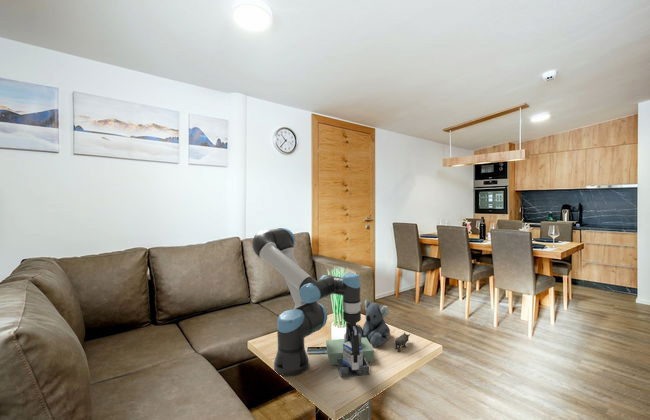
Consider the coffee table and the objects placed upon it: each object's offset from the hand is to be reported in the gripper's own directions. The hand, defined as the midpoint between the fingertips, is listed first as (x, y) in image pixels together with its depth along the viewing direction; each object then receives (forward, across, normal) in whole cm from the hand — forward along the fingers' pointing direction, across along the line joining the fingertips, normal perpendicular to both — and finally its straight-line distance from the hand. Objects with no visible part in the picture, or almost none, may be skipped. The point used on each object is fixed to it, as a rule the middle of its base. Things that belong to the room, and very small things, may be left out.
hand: (352, 363), depth 126 cm
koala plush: (+3, +28, -18) cm, 33 cm away
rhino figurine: (+3, +17, -29) cm, 34 cm away
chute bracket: (+3, 0, 0) cm, 3 cm away
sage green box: (+3, +12, -1) cm, 12 cm away
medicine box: (+1, 0, 0) cm, 1 cm away
